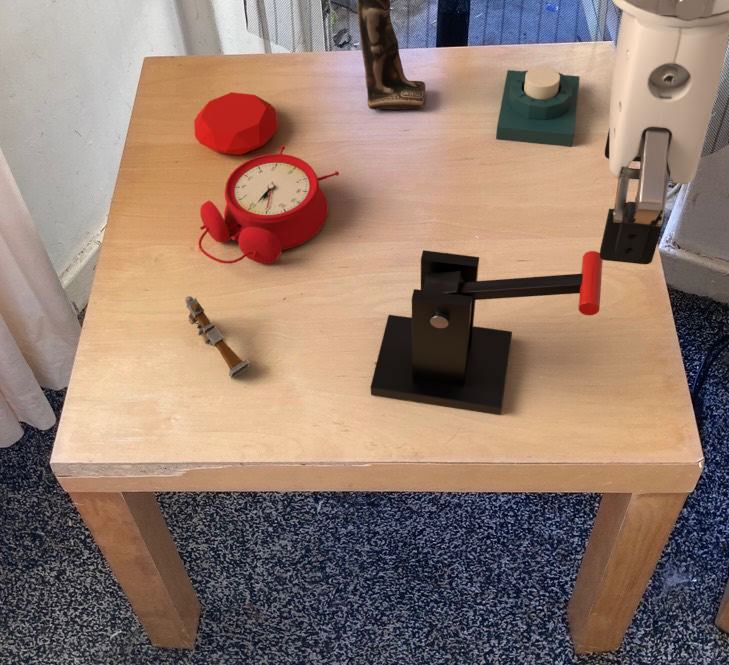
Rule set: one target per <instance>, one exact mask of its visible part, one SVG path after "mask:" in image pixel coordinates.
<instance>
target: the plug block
mask: <svg viewBox="0 0 729 665" xmlns="http://www.w3.org/2000/svg"><path fill="white" fill-rule="evenodd" d="M528 70H529V69H527V70H513V69H508V70H506V75H505V76H506V77H505V80H504V81H505V82H504V88H503V93H502V97H501V102H500V109H499V114H498V120H497V125H496V133H495V139H496V140H503V141H511V142H512V141H513V142H522V143H523V142H524V143H532V144H541V145H552V146H561V147H562V146H563V147H564V146H565V147H572V146H573V140H574V137H575V136H574V135H575V126H576V118H577V117H576V116H577V107H578V97H579V88H580V77H581V76H579V75H568V74H563V73H561V72H559V71H557V72H558V73H559V75H560V82H559V88H558V93H557V94H556V96H554V97H553V98H549V99H545V100H543V99H534V98H532V97H530V96H528V95H526V93H525V91H524V85H525V76H526V73H527V71H528Z"/></svg>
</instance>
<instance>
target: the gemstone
mask: <svg viewBox="0 0 729 665" xmlns="http://www.w3.org/2000/svg"><path fill="white" fill-rule="evenodd" d="M276 110H277V109H276V108H275V107H274V106H273V105H272V104H271V103H270V102H268V101H266V100H265V99H263V98H261V97H259V96H258V95H256V94H250V93H241V92H232V91H231V92H229V93H226V94H224V95H223V94H222V95H221V96H219V97H216V98H214V99H211V100H208V102H207V103H206V104H205V105H204V106H203V108H202V109H201V110H200V111H199V112H198V113H197V115H196V117H195V119H194V121H193V123H194V126H193V127H194V137H195V140H197V141H198V143H199V144H200V145H202V146H203V147H206V148H208V149H210V150H212V151H214V152H216V153H220V154H228V155H236V156H243V155H245V154H246V153H249V152H252V151H255V150H256V149H258V148H261V147H263V146H264V145H265V144H266V143H267V142H268V141H269V139H271V138H272V136H274V135H275V133H276V131H277V129H278V127H279V123H278V117H277V111H276Z"/></svg>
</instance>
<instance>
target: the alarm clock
mask: <svg viewBox="0 0 729 665" xmlns="http://www.w3.org/2000/svg"><path fill="white" fill-rule="evenodd" d="M285 149H286V147H285V145H280V152H279V153H270V154H264V155H259V156H255V157H253V158H250V159H248V160H247V161H245V162H244V161H243V163H241V164H240V165H238V166H237V167H236V168H234V170H233V171H232V172H231V173H230V175H229V176H228V178H227V180H226V183H225V188H224V199H225V202H226V205H225V207H224V212H223V215H222V213H221V212H220V210H219V208H218V207H217V206H216V205H215V204H214V203H213V201H211V200H207V201H205V202H204V203H202V204H201V206H200V210H199V211H200V212H199V213H200V218H201V221H202V224H203V225H202V226H200V227H199V228H200V230H202V231H203V230H204V229H205V230H204V232H203V233H202V234H201V236H200V237H199V239H198V242H197V243H198V249H199V250H200V251H201V253H203V255H205V256H206V257H208V258H209V259H211V260H212V261H215V262H218V263H221V264H228V265H229V264H234V263H238V262H240V261H242V260H243V259H244V258H247V259H249V260H251V261H253V262H256V263H259V264H271V263H273V262H276V261H277V260H278V258H279V257H280V256H281V254H282V250H283V251H284V250H287V249H291V248H295V247H297V246H300V245H302V244H304V243H306V242H307V241H309V240H310V239H312V238H313V237H314V236H316V235H317V234H318V233H319V231H320V230H321V229H322V227H323V226H324V225H325V223H326V220H327V217H328V213H329V207H328V206H329V204H328V200H327V196H326V195H325V193H324V191H323V190H322V189H321V187H320V182H321V181H323V180H326V179H328V178H331V177H334V176H336V177H337V176H340V173H339V172H340V171H338V170H336V171H335V172H334V173H330V174H326V175H322V176H320V177H318V174H317V173H316V172H315V170H314V168H313V167H312V166H311V165H310V164H309V163H308V162H306V161H305V160H304V159H301V158H299V157H297V156H294V155H291V154H284V153H283V152H284V150H285ZM207 233H208V234H209V235H210V237H211V238H212V239H213V240H214V241H216V242H217V243H221V244H224V243H227V242H228V241H230V240H233V241H237V242H238V247H239V250H240V252H241V253H242V254H243V255H241V256H239V257H238V258H235V259H233V260H223V259H220V258H217V257H215V256H213V255H211V254H209V253H208V252H207V251H206V250H205V249H204V248H203V246H202V242H203V240H204V238H205V236H206V234H207Z"/></svg>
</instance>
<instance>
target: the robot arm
mask: <svg viewBox="0 0 729 665" xmlns="http://www.w3.org/2000/svg"><path fill="white" fill-rule="evenodd" d="M611 2H612V3H613V4H614V5H615V6H616V7H617V8H618V9H620V11H621V10H622V13H621V20H620V25H619V30H618V35H617V41H616V48H615V55H614V62H613V69H612V78H611V89H610V104H609V107H610V108H609V127H608V132H607V137H606V142H605V147H604V157H605V158H606V159H607V160H608V167H609V172H610V173H611V174H612V176H614V177H615V178H616V179H617V187H616V193H615V200H614V207H613V208H608V211H607V217H606V221H605V226H604V230H603V235H602V239H601V243H600V248H599V253H600V258H601V259H602V260H603V261H607V262H617V263H628V264H637V265H650V264H651V263H652V262H653V260H654V256H655V252H656V249H657V246H658V242H659V239H660V237H661V236H660V235H661V233H662V228H663V225H664V222H665V210H666V205H667V198H668V190H669V184H670V180H672V183H673V184H682V185H688V184H689V183H691V182H692V181H693V180H694V179H695V178H696V175H697V170H698V167H699V163H700V158H701V155H702V151H703V147H704V144H705V139H706V136H707V131H708V127H709V125H710V120H711V117H712V113H713V109H714V105H715V101H716V97H717V94H718V89H719V84H720V79H721V76H722V72H723V68H724V62H725V57H726V51H727V46H728V40H729V0H611ZM632 162H638V163H640V164H639V168H633V167H629V166H630V165H631V164H632ZM630 180H638V184H637V192H636V196H635V199H634V201H627V198H628V193H629V192H628V191H629V184H630Z"/></svg>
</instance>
